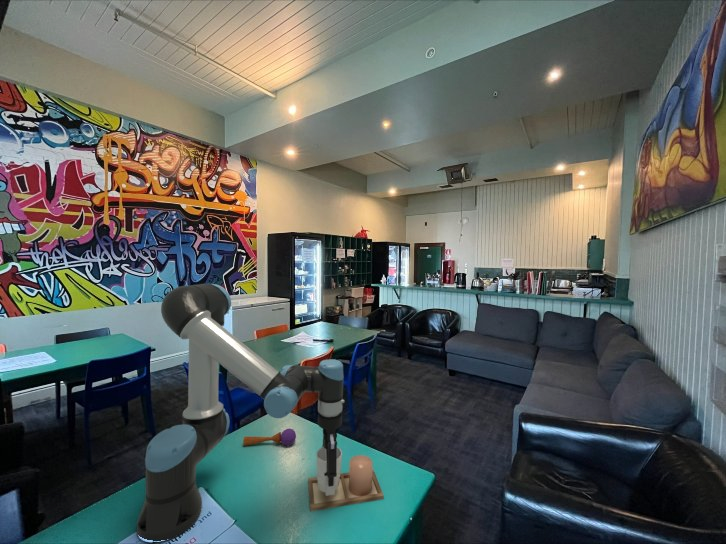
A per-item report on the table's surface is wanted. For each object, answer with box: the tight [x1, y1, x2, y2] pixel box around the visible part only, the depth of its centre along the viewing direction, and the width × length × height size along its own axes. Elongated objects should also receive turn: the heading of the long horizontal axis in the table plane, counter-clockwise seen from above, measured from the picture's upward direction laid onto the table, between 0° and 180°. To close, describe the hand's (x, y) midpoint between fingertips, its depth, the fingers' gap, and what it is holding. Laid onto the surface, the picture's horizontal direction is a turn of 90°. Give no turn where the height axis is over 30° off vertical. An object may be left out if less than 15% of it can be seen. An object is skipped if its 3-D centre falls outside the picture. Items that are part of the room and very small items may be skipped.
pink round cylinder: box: [348, 454, 374, 496], centre depth 93 cm, size 7×7×8 cm
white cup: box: [315, 446, 343, 492], centre depth 91 cm, size 8×8×10 cm
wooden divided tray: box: [307, 468, 385, 512], centre depth 92 cm, size 22×12×2 cm, turn 104°
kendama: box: [242, 428, 297, 447], centre depth 117 cm, size 6×6×20 cm
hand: (328, 484), depth 91 cm, fingers closed on white cup, 7 cm apart
